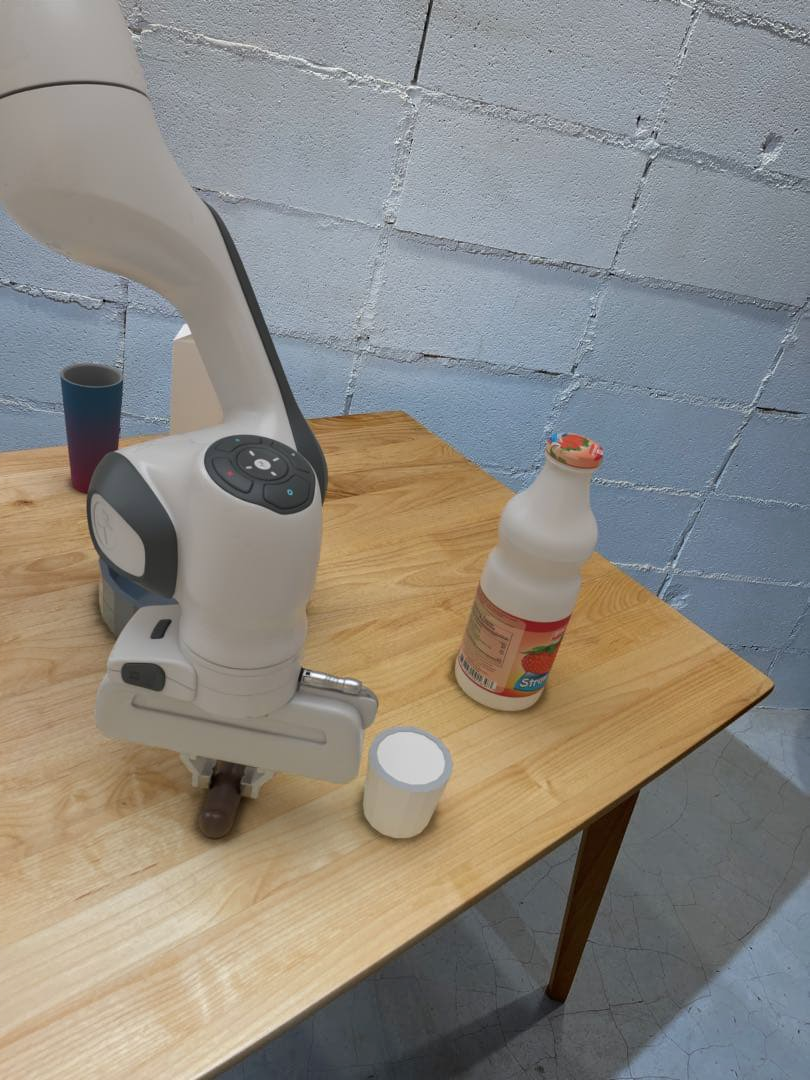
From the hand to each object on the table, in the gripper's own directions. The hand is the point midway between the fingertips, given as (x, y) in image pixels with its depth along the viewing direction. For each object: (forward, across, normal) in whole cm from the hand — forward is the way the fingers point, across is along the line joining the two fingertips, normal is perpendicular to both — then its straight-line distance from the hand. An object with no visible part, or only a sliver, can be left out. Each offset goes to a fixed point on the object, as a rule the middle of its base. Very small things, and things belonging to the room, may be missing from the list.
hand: (226, 786), depth 66 cm
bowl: (+2, +9, -24) cm, 26 cm away
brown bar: (+2, 0, -2) cm, 3 cm away
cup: (+2, +28, -42) cm, 51 cm away
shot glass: (+2, -14, -2) cm, 14 cm away
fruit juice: (+2, -23, -21) cm, 31 cm away
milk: (+2, +18, -51) cm, 54 cm away
